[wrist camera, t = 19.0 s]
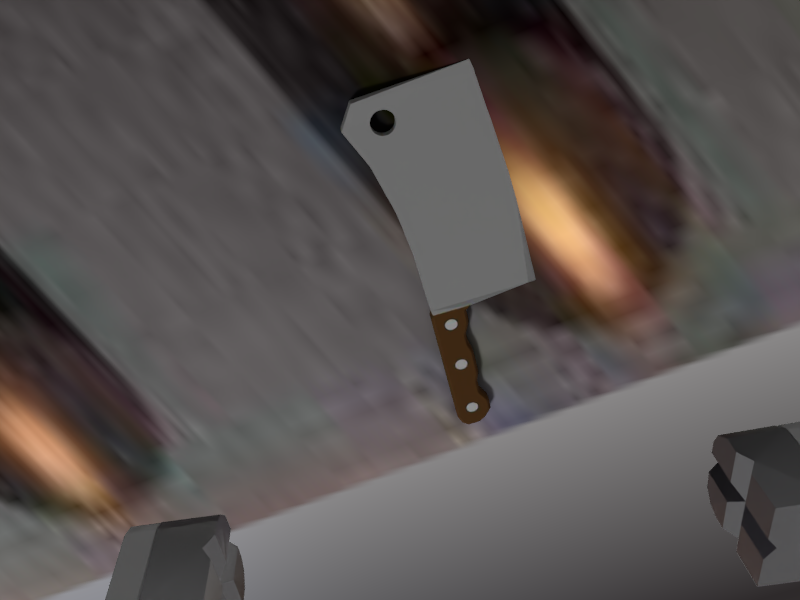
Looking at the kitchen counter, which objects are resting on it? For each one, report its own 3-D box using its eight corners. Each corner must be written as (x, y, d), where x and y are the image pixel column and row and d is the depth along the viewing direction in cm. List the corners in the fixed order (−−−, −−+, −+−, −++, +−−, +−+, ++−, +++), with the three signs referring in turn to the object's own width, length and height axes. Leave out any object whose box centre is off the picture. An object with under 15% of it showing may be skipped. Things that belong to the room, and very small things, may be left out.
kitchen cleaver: (572, 396, 49) (433, 435, 49) (567, 386, 50) (430, 426, 50) (517, 41, 36) (330, 95, 36) (512, 37, 37) (329, 90, 37)
